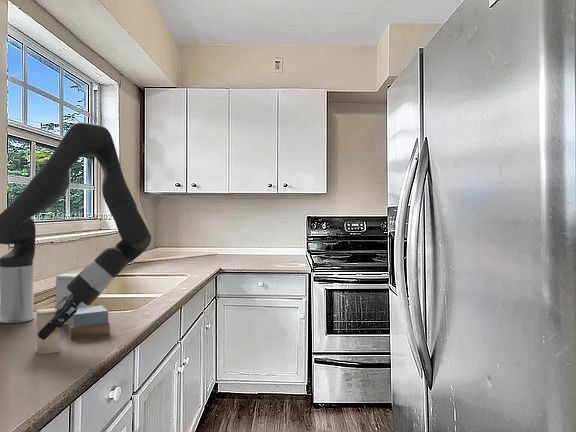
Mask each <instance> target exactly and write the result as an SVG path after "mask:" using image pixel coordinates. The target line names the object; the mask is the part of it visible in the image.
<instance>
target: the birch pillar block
mask: <svg viewBox="0 0 576 432" xmlns="http://www.w3.org/2000/svg"><path fill="white" fill-rule="evenodd" d="M57 309H58V308H57ZM57 309H54V307H53V308H40V309H36V350H37V355H45V354H51V353H52V354H53V353H60V352H61V327H60V328H57V329H55V330H54V331H53V332H52V333H51V334H50V335H49V336H48V337H47V338H46V339H45V340H42V339H41V338H40V337H39V336H38V333H39V332H40V331H41V330H42V329H43V327H44V326H45V325H46V324H47V323H49V320H51V319H52V318H53V317H54V316H55V314H54V313H55V311H56V310H57ZM59 313H60V311H59ZM57 320H58V321H59V322H60V318H58V319H57Z"/></svg>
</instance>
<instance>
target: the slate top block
mask: <svg viewBox="0 0 576 432" xmlns="http://www.w3.org/2000/svg"><path fill="white" fill-rule="evenodd" d="M69 321H70V323H71V324H72V326H73V327H81V326H90V325H98V324H106V323H108V322H109V310H108V309H107V308H105V307H104V305H102V304H101V305H93V306H92V305H91V306H88V307H81V308H78V309H77V312H76V313H75V314H74V315H73V316H72V317H71V318H70V319H69Z"/></svg>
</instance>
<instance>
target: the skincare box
mask: <svg viewBox="0 0 576 432" xmlns="http://www.w3.org/2000/svg"><path fill="white" fill-rule="evenodd" d="M78 274H79V273H63V274H60V275H59V274H58V275H56V277H55V278H56V279H55V280H56V281H55V306H56V305H57V304H58V303H59V302H60V301H61V300H62V299H63V297H65V296H66V297H68V296H69V295H70V294H72V293H71V292H70V291H69V290H68V289H67V285H68V284H69V283H70V282H71V281H72V280H73V279H74V278H75V277H76V276H77V275H78ZM55 306H54V307H55ZM81 307H89V305H86V304H84V303H83V302H81V303H80V304H79V305H78V307H77V308H81ZM64 325H67V321H66V322H65V323H64V324H63V325H62V326H64Z"/></svg>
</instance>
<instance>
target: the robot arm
mask: <svg viewBox="0 0 576 432" xmlns="http://www.w3.org/2000/svg"><path fill="white" fill-rule="evenodd" d="M82 157H90V158H95V159H96V160H97V161H98V164H99V165H100V166H101V169H102V174H103V176H102V183H101V184H102V186H101V191H102V196H103V200H104V202H105V204H106V206H107V208H108V211H109V213H110V214H111V216H112V218H113V219H114V222H115V226H116V229H117V230H118V234H119V236H120V240H119V241H118V242H117V243H116V244H114V245H113V246H108V247H106V248H105V249H103V250H102V251H101V252H100V254H99V255H97V257H95V258H94V260H92V261H91V262H90V263H89V264H87V265H86V266H85V267H84V268H83V269H82V270H81V271H80V272H79V273H77V274H78V275H77V276H76V277H75V278H74V279H73V280H72V281H71V282H70V283H69V284H68V285H67V289H68V290H69V291H70V292H71V293H72V294H70V295H69V296H68V297H66V296H65V297H63V299H62V300H61V301H60V302H59V303H58V304H57V305H56V306H54V307H53V308H54V309H57V308H58V309H57V310H56V311H55V313H54V314H55V316H54V317H53V318H52V319H51V320H49V323H47V324H46V325H45V326H44V327H43V329H42V330H41V331H40V332H39V333H38V336H39V337H40V338H41V339H42V340H45V339H46V338H47V337H48V336H49V335H50V334H51V333H52V332H53V331H54V330H55V329H57V328H60V329H61V328H62V326H64V325H63V324H64V323H65V322H66V321H67V320H69V319H70V318H71V317H72V316H73V315H74V314H75V313H76V312H77V309H78V308H77V307H78V305H79V304H80V303H81V302H83V303H84V304H86V305H88V306H90V305H92V303H93V302H95V300H96V299H97V298H99V296H100V295H101V294H102V293H103V292H104V291H105V290H106V289H107V288H108V287H109V286H110V284H111V283H112V281H114V278H115V279H116V277H117V276H118V275H119V273H121V272H122V271H123V269H124V268H126V266H127V265H129V264H130V263H132V262H133V261H134V260H135V259H137V258H138V257H139V256H141V255H142V254H143V253H144V252H145V251H146V250H147V249H148V247H149V246H150V244H151V243H152V242H151V241H152V234H151V232H150V230H149V229H148V227H147V224H146V223H145V221H144V219H143V217H142V215H141V214H140V212H139V209H138V206H137V204H136V201H135V200H134V197H133V195H132V192H131V191H130V189H129V187H128V185H127V182H126V180H125V176H124V174H123V171H122V168H121V163H120V159H119V156H118V153H117V149H116V145H115V142H114V140H113V137H112V135H111V132H110V131H109V129H108V128H106V127H105V126H102V125H99V124H94V123H89V122H83V121H82V122H81V121H80V122H77V123H76V122H75V123H74V124H72V125H71V127H69V129H68V130H67V131H66V132H65V134H64V135H63V138H62V139H61V140H60V142H59V144H58V145H57V147H56V148H55V150H54V152H53V153H52V154H51V155H50V157H49V158H48V159H47V160H46V162H45V163H44V165H43V166H42V167H41V169H40V170H39V171H38V172H37V173H36V174H35V175H34V177H32V179H31V180H30V181H29V183H28V184H27V186H26V187H25V188H24V189H23V190H22V191H21V192H20V193H19V194H18V196H17V197H16V198H15V200H14V201H12V203H11V204H9V206H7V208H5V209H4V210H3V211H2V212H1V213H0V245H13V247H12V249H11V250H10V251H9V252H8V253H6V254H4V255H2V256H0V323H4V324H14V323H15V324H16V323H17V324H19V323H24V322H29V321H32V320H34V319H35V318H34V317H35V316H34V315H35V314H34V312H35V309H34V308H35V307H34V300H35V299H34V258H35V254H36V237H37V236H36V235H37V234H36V231H37V230H36V223H35V221H34V218H33V217H34V216H36V215H38V214H40V213H42V212H44V211H46V210H47V209H49V208H50V207H52V206H54V205H55V204H56V203H57V202H59V200H60V199H61V198H62V197H63V196H64V194H65V193H66V192H67V190H68V189H69V186H70V170H71V168H72V166H73V165H74V164H75V163H76V162H77V161H78V160H79V159H80V158H82ZM59 311H60V313H59ZM58 318H60V322H59V321H58V320H57V319H58Z"/></svg>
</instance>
